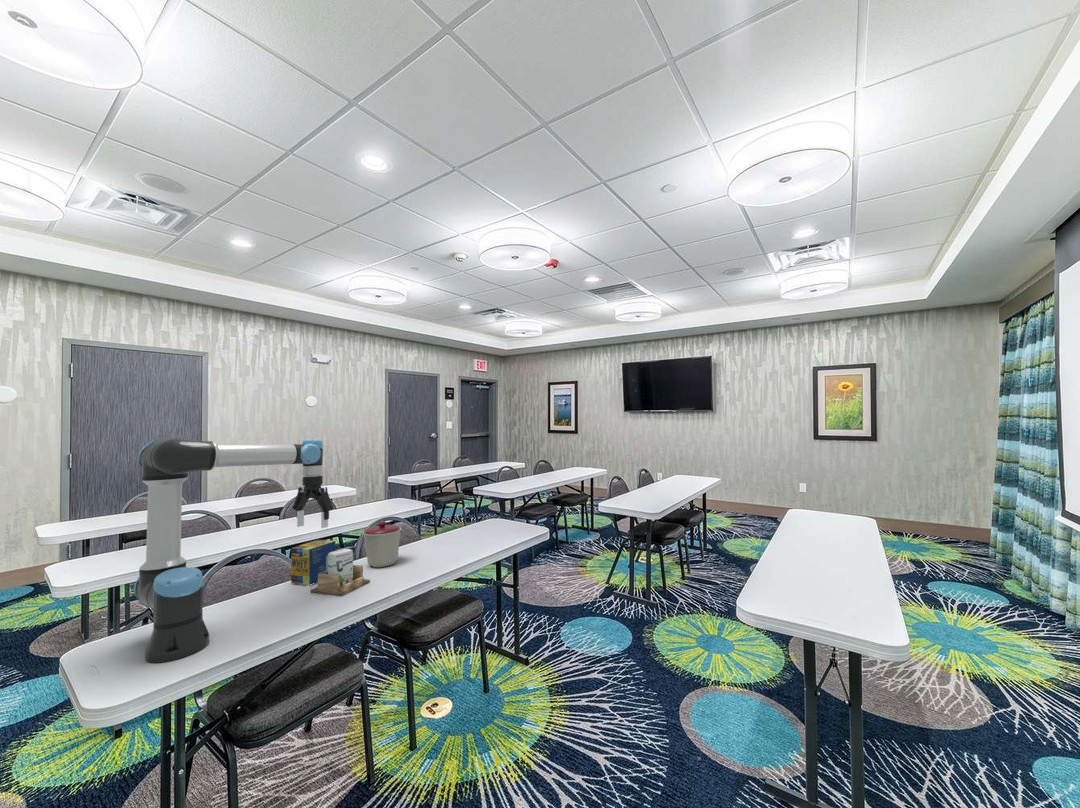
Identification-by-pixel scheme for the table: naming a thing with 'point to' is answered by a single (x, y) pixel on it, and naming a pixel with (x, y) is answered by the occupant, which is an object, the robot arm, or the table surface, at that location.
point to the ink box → (341, 563)
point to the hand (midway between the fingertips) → (312, 526)
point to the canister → (382, 544)
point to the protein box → (310, 561)
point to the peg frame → (340, 583)
